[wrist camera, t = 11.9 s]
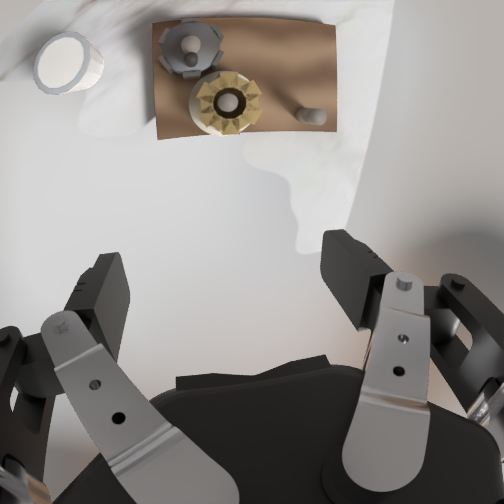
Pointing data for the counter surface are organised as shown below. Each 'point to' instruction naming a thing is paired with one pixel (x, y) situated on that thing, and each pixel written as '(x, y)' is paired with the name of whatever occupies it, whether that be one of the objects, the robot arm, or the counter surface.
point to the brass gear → (248, 103)
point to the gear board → (245, 73)
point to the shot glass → (67, 64)
